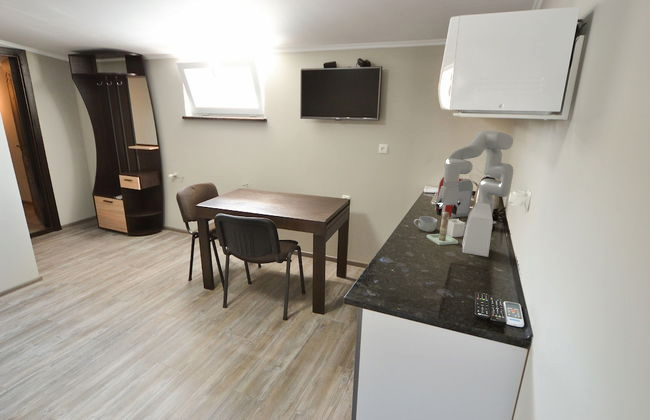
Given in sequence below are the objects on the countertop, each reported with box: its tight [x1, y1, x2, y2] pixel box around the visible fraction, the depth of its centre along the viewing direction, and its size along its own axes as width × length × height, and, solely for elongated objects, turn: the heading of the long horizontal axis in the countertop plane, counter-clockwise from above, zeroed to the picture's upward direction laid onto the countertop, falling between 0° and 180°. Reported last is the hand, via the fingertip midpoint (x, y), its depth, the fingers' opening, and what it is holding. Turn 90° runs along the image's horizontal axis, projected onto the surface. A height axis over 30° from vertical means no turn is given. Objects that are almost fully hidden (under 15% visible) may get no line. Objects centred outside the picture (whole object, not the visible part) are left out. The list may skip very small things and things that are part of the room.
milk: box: [461, 202, 494, 258], centre depth 168 cm, size 12×12×26 cm
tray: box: [426, 233, 459, 246], centre depth 183 cm, size 12×12×2 cm
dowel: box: [438, 212, 450, 241], centre depth 181 cm, size 4×4×16 cm
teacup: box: [413, 215, 438, 233], centre depth 198 cm, size 14×11×8 cm
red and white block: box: [434, 176, 474, 219], centre depth 236 cm, size 17×18×27 cm
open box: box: [446, 218, 466, 238], centre depth 192 cm, size 8×8×9 cm
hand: (446, 214), depth 179 cm, fingers open, 9 cm apart
